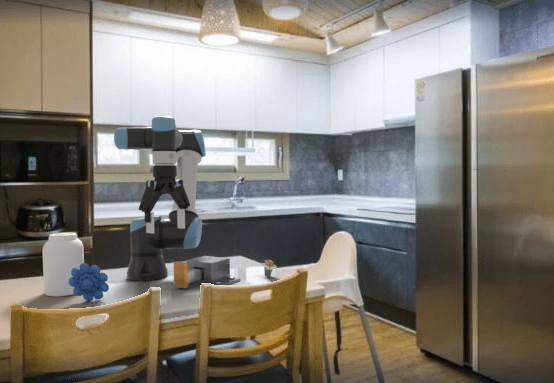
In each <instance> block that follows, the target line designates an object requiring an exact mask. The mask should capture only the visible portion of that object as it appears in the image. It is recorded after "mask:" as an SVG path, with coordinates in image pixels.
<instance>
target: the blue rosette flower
mask: <svg viewBox="0 0 554 383" xmlns="http://www.w3.org/2000/svg"><path fill="white" fill-rule="evenodd" d="M79 268H80V269H79ZM79 268H73V269H72V270H71V275H72V276H73V277H71V278H70V279H69V280H68V281H69V284H70V285H71V286H72V287H75V288H74V289H73V292H74V295H75V296H76V297H83V299H84V300H85V301H86V302H91V301H93V299H95V300H102V299H103V297H104V293H107V292H108V291H109V290H110V287H109V284H108V283H107V281H108V279H109V278H108V274H106V273H105V272H101V268H100V267H99V265H97V264H92V265H89V264H88V263H86V262H84V263H82V264H80V266H79Z"/></svg>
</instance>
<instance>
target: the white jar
mask: <svg viewBox="0 0 554 383" xmlns="http://www.w3.org/2000/svg"><path fill="white" fill-rule="evenodd" d="M84 250H85V249H84V244H83V241H82V240H81V239H79V238H78V234H77V233H76V232H56V233H52V234H51V233H50V234H49V235H48V240H47V241H46V242H45V243H44V244H43V246H42V268H43V269H42V271H43V272H42V273H43V293H44V295H45V296H48V297H54V298H55V297H57V298H58V297H69V296H73V295H75V294H74V292H73V289H74V288H75V287H72V286H71V285H70V284H69V281H68V280H69V279H70V278H71V277H73V276H72V275H71V270H72V269H73V268H79V266H80V264H82V263H85V255H84ZM79 269H80V268H79Z"/></svg>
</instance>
